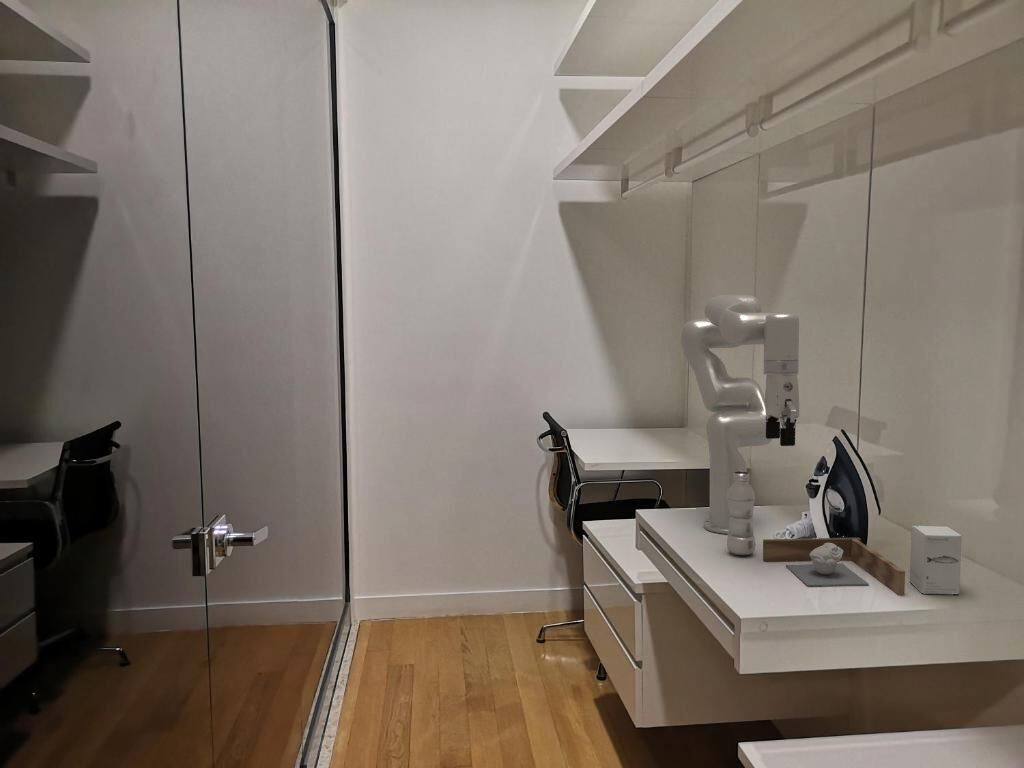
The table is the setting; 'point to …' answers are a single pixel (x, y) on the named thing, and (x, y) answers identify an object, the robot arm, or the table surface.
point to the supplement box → (935, 559)
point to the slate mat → (826, 576)
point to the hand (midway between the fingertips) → (779, 441)
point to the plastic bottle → (741, 515)
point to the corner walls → (851, 551)
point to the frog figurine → (826, 558)
